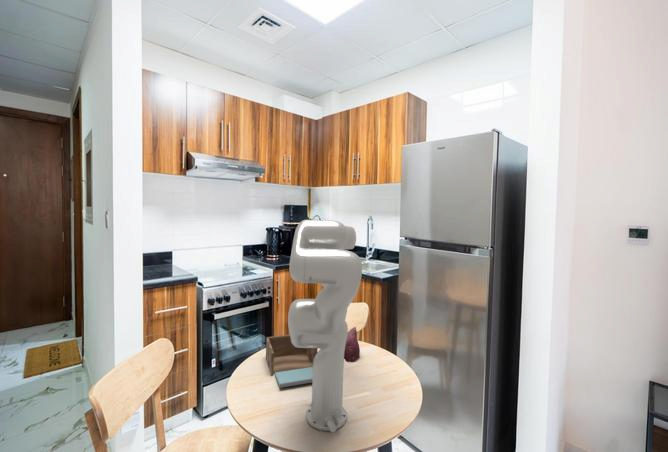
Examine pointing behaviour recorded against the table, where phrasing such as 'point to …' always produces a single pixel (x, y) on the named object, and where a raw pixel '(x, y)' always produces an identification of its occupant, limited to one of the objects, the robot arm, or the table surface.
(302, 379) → the light blue panel
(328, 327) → the robot arm
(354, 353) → the vegetable
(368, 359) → the table surface
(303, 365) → the box
